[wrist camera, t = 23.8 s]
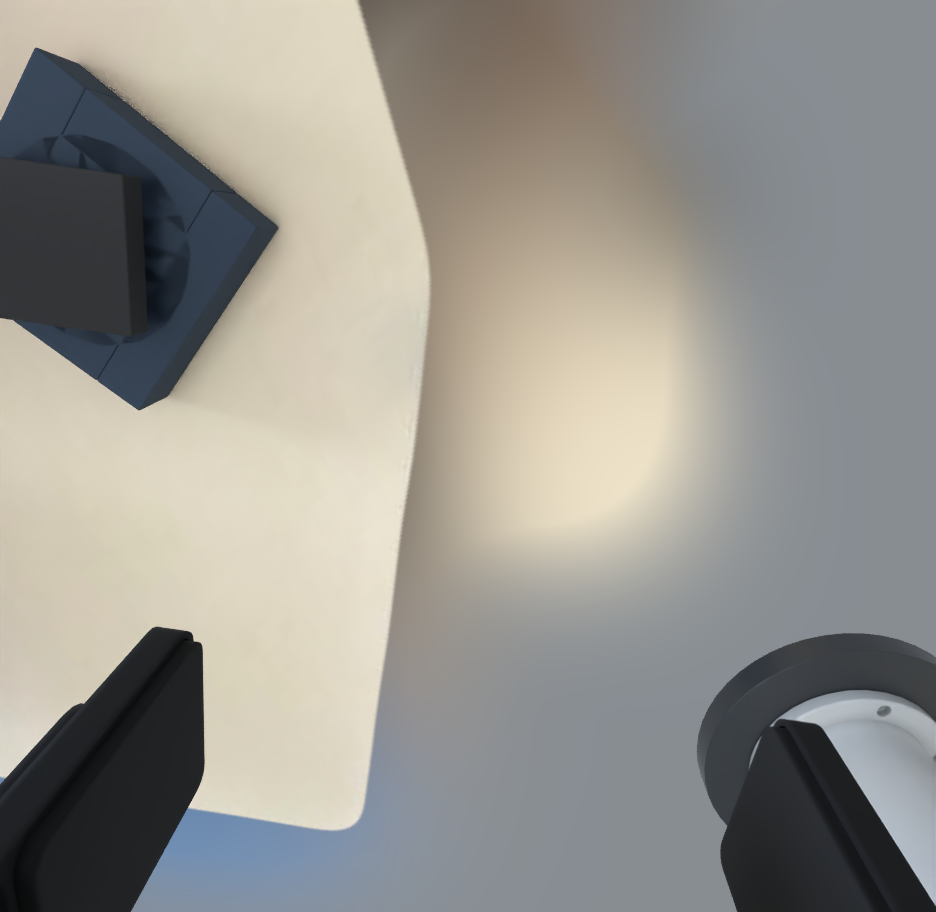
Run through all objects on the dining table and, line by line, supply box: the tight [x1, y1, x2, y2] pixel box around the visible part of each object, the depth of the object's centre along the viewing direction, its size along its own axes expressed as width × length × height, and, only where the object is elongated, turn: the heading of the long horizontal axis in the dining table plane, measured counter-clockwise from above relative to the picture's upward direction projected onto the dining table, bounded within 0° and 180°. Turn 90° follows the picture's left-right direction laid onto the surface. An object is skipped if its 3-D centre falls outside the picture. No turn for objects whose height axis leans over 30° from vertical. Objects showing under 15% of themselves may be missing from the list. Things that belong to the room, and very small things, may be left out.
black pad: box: [0, 157, 148, 337], centre depth 31 cm, size 7×7×6 cm
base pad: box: [0, 48, 278, 410], centre depth 32 cm, size 12×12×3 cm
